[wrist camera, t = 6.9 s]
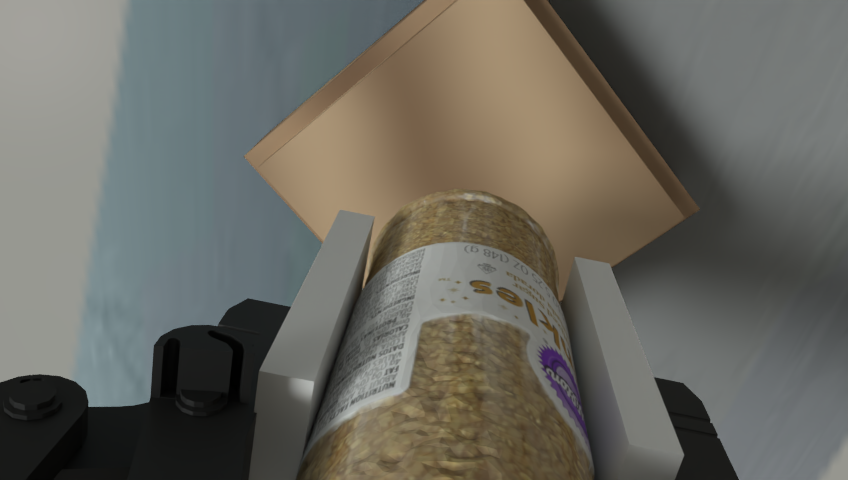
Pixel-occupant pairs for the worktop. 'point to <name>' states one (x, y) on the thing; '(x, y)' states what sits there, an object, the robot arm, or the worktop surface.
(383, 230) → the sprinkles bottle
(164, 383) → the robot arm
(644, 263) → the worktop surface
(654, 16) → the worktop surface
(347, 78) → the pedestal
